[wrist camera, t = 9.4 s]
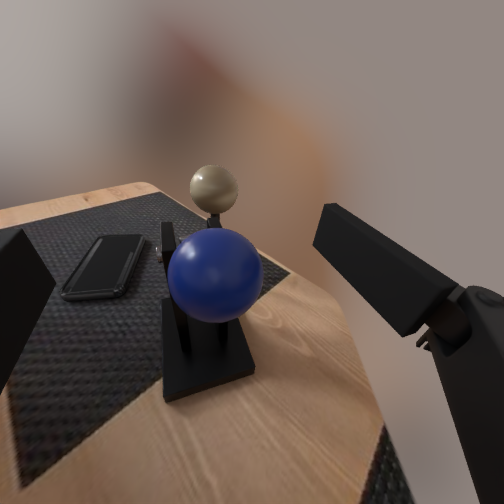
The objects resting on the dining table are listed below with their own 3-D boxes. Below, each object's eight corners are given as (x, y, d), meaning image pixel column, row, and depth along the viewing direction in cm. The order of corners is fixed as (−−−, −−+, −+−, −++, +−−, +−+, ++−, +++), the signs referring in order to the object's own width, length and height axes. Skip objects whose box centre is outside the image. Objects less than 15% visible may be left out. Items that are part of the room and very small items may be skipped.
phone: (55, 296, 28) (99, 234, 40) (59, 302, 29) (101, 239, 40) (122, 291, 29) (145, 233, 41) (124, 297, 30) (146, 238, 42)
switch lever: (283, 326, 8) (275, 221, 7) (174, 355, 6) (155, 234, 6) (215, 264, 21) (210, 227, 20) (176, 270, 20) (170, 231, 19)
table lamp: (198, 291, 32) (186, 175, 22) (192, 262, 37) (180, 158, 27) (243, 283, 34) (251, 173, 24) (231, 256, 40) (234, 158, 30)
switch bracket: (254, 373, 23) (273, 269, 15) (165, 403, 21) (122, 296, 12) (226, 293, 32) (228, 199, 24) (162, 306, 29) (136, 205, 21)
